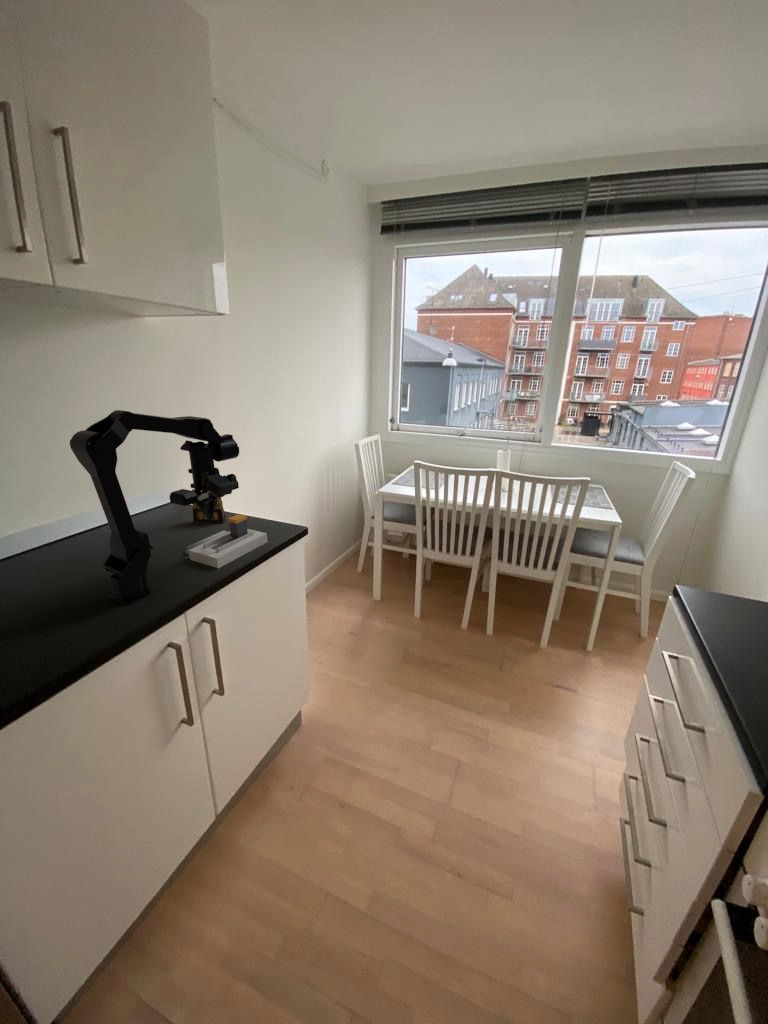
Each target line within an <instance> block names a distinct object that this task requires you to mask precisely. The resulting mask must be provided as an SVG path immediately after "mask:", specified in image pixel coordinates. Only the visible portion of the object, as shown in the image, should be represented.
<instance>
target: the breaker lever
mask: <svg viewBox="0 0 768 1024" xmlns="http://www.w3.org/2000/svg"><path fill="white" fill-rule="evenodd" d="M247 521H248V515H245V514H240V513H238V514H236V515H233V516H230V517H228V518H227V522H228V523H229V532H230V534H231V537H234V538H240V537H242V536H244V535H246V534H248V531H247V529H248V522H247Z"/></svg>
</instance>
